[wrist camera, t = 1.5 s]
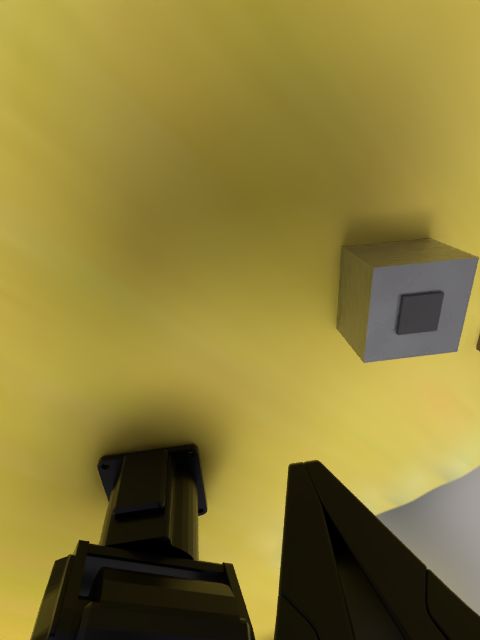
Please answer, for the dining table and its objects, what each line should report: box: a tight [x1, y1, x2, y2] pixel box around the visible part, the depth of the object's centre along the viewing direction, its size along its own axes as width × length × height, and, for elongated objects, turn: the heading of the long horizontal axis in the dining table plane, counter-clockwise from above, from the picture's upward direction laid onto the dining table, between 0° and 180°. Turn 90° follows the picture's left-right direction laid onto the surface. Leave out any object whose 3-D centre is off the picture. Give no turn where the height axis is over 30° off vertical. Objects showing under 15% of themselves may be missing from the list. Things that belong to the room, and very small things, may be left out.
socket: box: [337, 238, 479, 363], centre depth 19 cm, size 5×5×4 cm
